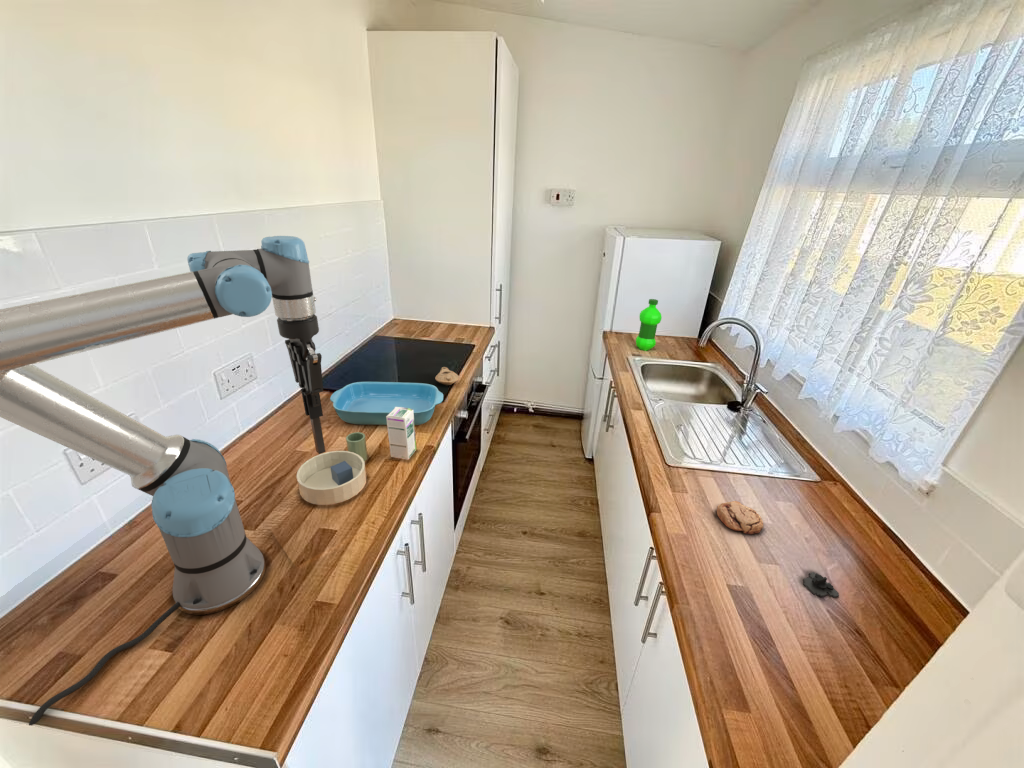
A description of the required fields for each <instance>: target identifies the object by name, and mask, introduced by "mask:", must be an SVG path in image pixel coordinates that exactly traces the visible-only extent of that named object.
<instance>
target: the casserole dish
mask: <svg viewBox="0 0 1024 768" xmlns="http://www.w3.org/2000/svg"><path fill="white" fill-rule="evenodd" d="M329 400H330V402H331V403H332V406H333V409H334V411H335V412H336V414H337V416H338V417H339V418H340V420H341V421H343V422H345V423H347V424H351V425H366V426H367V425H371V426H387V419H386V416H387V415H388V414H389V413H390V412H391V411H392V410H393V409H394V408H395V407H404V408H410V409H413V412H414V424H415V426H421V425H424V424H426V423H428V422H429V421H430V420H431V418H432V417H433V415H434V412H435V408H436V406H437V405H441V403H443V401H444V394H443V392H441V391H440V390H439V389H438V387H437V386H435V385H433V384H429V383H422V382H397V381H396V382H395V381H357V382H352V383H348V384H346V385H345V386H343V387H342V388H340V389H337V390H336V391H334V392H332V394H331V395H330V398H329Z"/></svg>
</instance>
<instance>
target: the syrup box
mask: <svg viewBox="0 0 1024 768" xmlns="http://www.w3.org/2000/svg"><path fill="white" fill-rule="evenodd" d="M386 419H387V425H386V428H387V436H388V445H389V453H390V454H389V455H390V458H396V459H400V460H401V459H403V460H407V461H408V460H410V459H411V458H412V456H413V455H414V454H415V452H416V451H417V437H416V425H415V424H414V412H413V409H410V408H404V407H395V408H394V409H393V410H392V411H391V412H390V413H389V414H388V415H387V416H386Z"/></svg>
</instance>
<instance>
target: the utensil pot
mask: <svg viewBox="0 0 1024 768" xmlns="http://www.w3.org/2000/svg"><path fill="white" fill-rule="evenodd" d="M345 439H346V447H347V451H349V452H354V453H356V454H358V455H359V456H361V457H362V458H363V460H364V462H366V461H367V460H368V449H367V440H366V434H365V433H364V432H361V431H355V432H351V433H349V434H347V435H346V437H345Z"/></svg>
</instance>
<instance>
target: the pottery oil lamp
mask: <svg viewBox="0 0 1024 768" xmlns="http://www.w3.org/2000/svg"><path fill="white" fill-rule="evenodd" d="M434 378H435V381H436V382H437V383H439V384H441V385H445V386H451V385H452V384H454V383H456V382H458V381H459V379H460V376H459V375H458V373H456V372H454V371H453V370H450V369H449V368H448V367H447V366H443V367H441V368H440V370H439V372H438V373H437V375H436V376H435V377H434Z"/></svg>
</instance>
